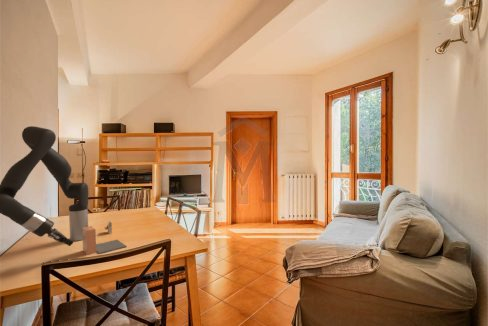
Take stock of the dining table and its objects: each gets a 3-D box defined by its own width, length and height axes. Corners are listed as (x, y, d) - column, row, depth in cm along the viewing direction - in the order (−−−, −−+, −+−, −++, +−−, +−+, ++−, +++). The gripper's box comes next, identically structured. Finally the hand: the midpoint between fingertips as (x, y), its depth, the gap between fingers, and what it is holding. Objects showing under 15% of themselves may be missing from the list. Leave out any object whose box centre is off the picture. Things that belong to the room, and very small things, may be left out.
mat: (91, 246, 132) (91, 245, 132) (117, 240, 142) (117, 239, 142) (99, 254, 122) (99, 253, 122) (126, 246, 131) (126, 246, 131)
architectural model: (105, 235, 153) (105, 223, 153) (104, 232, 158) (103, 221, 158) (112, 234, 155) (111, 222, 155) (110, 231, 160) (109, 220, 160)
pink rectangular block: (83, 250, 127) (82, 227, 126) (92, 248, 130) (91, 226, 129) (87, 254, 121) (86, 230, 121) (96, 252, 124) (95, 229, 124)
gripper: (47, 219, 108) (80, 240, 117) (43, 215, 117) (74, 234, 126) (31, 234, 104) (67, 254, 113) (29, 228, 114) (62, 247, 123)
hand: (71, 244), depth 120 cm, fingers closed
